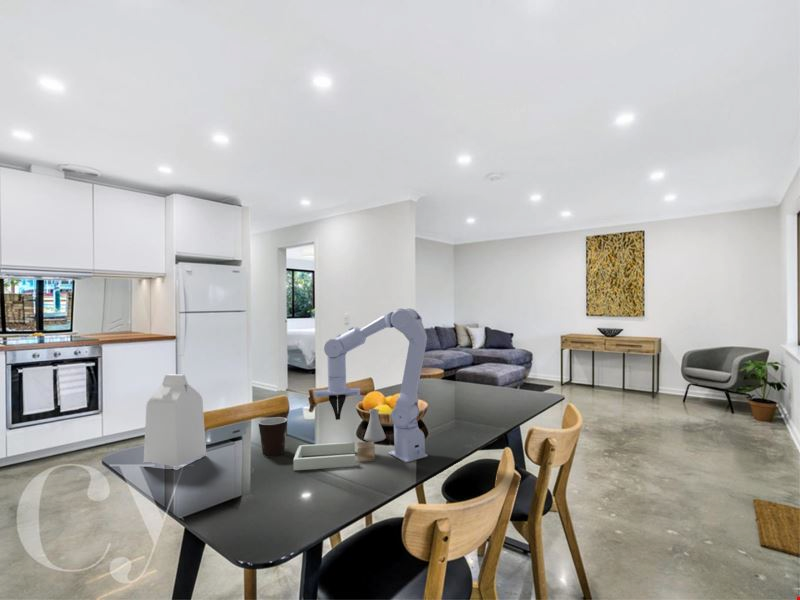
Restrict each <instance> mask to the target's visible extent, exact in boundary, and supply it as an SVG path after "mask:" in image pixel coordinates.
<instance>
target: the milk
mask: <svg viewBox="0 0 800 600" xmlns="http://www.w3.org/2000/svg"><path fill="white" fill-rule="evenodd" d="M203 405H204V403H203V397H202V394H200V393H199V392H198V391H197V390H196V389H195V388H194V387H192V385H190V384H188V380H187V378H186V374H175V373H174V374H171V373H169V374H165V375H164V378H163V381H162V384H161V385H160V386H159V387H158V388H157V390H156V391H155V392H154V393H153V394H152V395H151V396H150V397H149V399H148V401H147V403H146V408H145V410H146V411H145V427H144V429H145V430H144V445H143V446H144V448H143V463H144V462H152V463H158V464H165V465H169V466H179V465H181V464H183V463H185V462H187V461H190V460H191V459H194V458H196V457H198V456H201V455H203V454H205V453H206V454H207V445H206V434H205V433H206V430H205V417H204V406H203Z"/></svg>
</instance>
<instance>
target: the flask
mask: <svg viewBox="0 0 800 600" xmlns="http://www.w3.org/2000/svg"><path fill="white" fill-rule="evenodd" d="M368 412H369V421H368V425H367V428H366V431H365V433H364V437H363V440H365V442H374V443H377V442H382V441H384V440H385V439H386V438H387V437H386V434H385V432H384V431H385V430H384V429H383V426H382V425H381V424H382V423H381V421H380V416H379V412H380V409H378V408H371V409H369V410H368Z"/></svg>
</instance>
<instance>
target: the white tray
mask: <svg viewBox="0 0 800 600" xmlns="http://www.w3.org/2000/svg"><path fill="white" fill-rule="evenodd" d="M355 448H356V447H355V441H348V442H347V441H346V442H333V443H331V442H330V443H316V444H302V445H301V444H300V445H298V447H297V450H295V451H296V452H295V454H294V457H293V460H292V462H293V471H304V470H305V471H306V470H319V469H321V470H322V469H332V468H344V467H346V468H348V467H356V454H355V453H356V450H355Z"/></svg>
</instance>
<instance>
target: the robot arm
mask: <svg viewBox="0 0 800 600" xmlns="http://www.w3.org/2000/svg"><path fill="white" fill-rule="evenodd" d="M422 319H423V318H422V316H421V315H420V314H419V313H418V312H417V311H416V310H415V309H414V308H398V309H395V310H393V311H390V312H388V313H386V314H383V315H382V316H380V317H379V318H376V319H375V320H374V321H373V320H372V322H370V323H369V324H367V325H365V326H363V327H357V326H356V327H354V326H352V327H350V328H348V331H346V332H345V333H343V334H338V335H336V338H331V339H329V340H328V341H326V342H325V343H324V348H323V351H324V354H325V355H326V356H327V387H328V388H327V389H319V390H314V391H313V398H314V399H317V398H326V397H327V398H328V401H329V403H330V406H331V407H332V411H333V414H334V416H335V420H336V421H337V420H341V415H342V410H343V407H344V404H345V402H346V398H347V397H348V396H358V397H359V396H361V388H359V387H358V388H354V387H353V388H352V387H350V388H348V387H347V369H346V367H347V366H346V365H347V364H346V361H347V360H346V355H347V354H348V352H350V351H352V350H354V349H356V348H357V347H359V346H362V345H364V344H365V343H366V339H367V338H368V337H371V336H372V335H374V334H376V333H379V332H380V331H382V330H384V329H386V328H389V329H391V328H394V329H396V331H398V332H400V333H402V335H404V337H405V338H406V339H407V341H408V347H407V348H408V349H407V353H406V360H405V364H404V365H405V366H404V371H403V376H402V380H401V381H402V383H401V388H400V391H399V392H400V393H399V394H398V397H397V399H396V401H395V402H396V403H395V406H394V407H393V409H392V410H391V412H390V419H391V422H392V424H393V443H394V450H391V451H388V453H389V455H391V456H393V457H395V458H397V459H399V460H400V461H403V463H410V462H412V461H416V460H419V459H423V458H427V457H428V454H427V453H426V444H425V443H426V441H425V440H426V439H425V434H424V432H423V431H422V430H421V429H420V428H419V425H418V421H417V417H418V416H419V414H420V407H419V395H418V391H419V386H420V380H421V373H422V368H423V364H424V358H425V352H426V347H427V343H428V342H427V341H428V336H427V333H426V329H425V327H424V324H423V320H422Z"/></svg>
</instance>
